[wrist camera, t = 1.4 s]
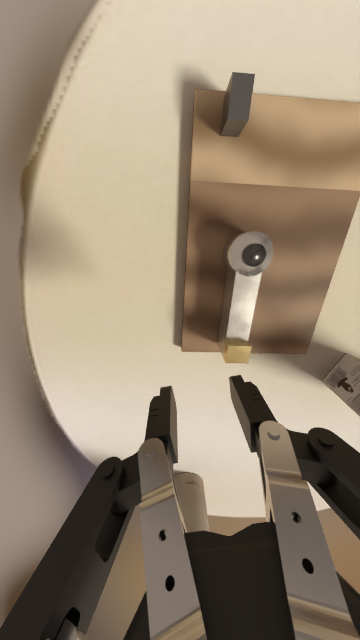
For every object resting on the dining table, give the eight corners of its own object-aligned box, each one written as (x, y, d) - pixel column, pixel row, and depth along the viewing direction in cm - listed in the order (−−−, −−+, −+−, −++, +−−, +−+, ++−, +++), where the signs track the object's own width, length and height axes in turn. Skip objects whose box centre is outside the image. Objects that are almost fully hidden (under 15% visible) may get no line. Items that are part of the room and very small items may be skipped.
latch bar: (225, 232, 22) (238, 229, 17) (262, 234, 22) (284, 231, 18) (211, 343, 27) (219, 362, 23) (241, 344, 28) (254, 363, 23)
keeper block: (223, 97, 18) (232, 72, 15) (242, 98, 18) (254, 74, 15) (220, 135, 19) (227, 118, 16) (238, 137, 19) (248, 120, 16)
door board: (194, 98, 18) (195, 89, 17) (378, 113, 19) (390, 105, 18) (181, 347, 29) (181, 351, 28) (300, 349, 30) (305, 353, 29)
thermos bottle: (210, 479, 42) (269, 858, 16) (190, 497, 44) (214, 852, 19) (179, 468, 40) (192, 876, 14) (161, 487, 43) (142, 867, 17)
